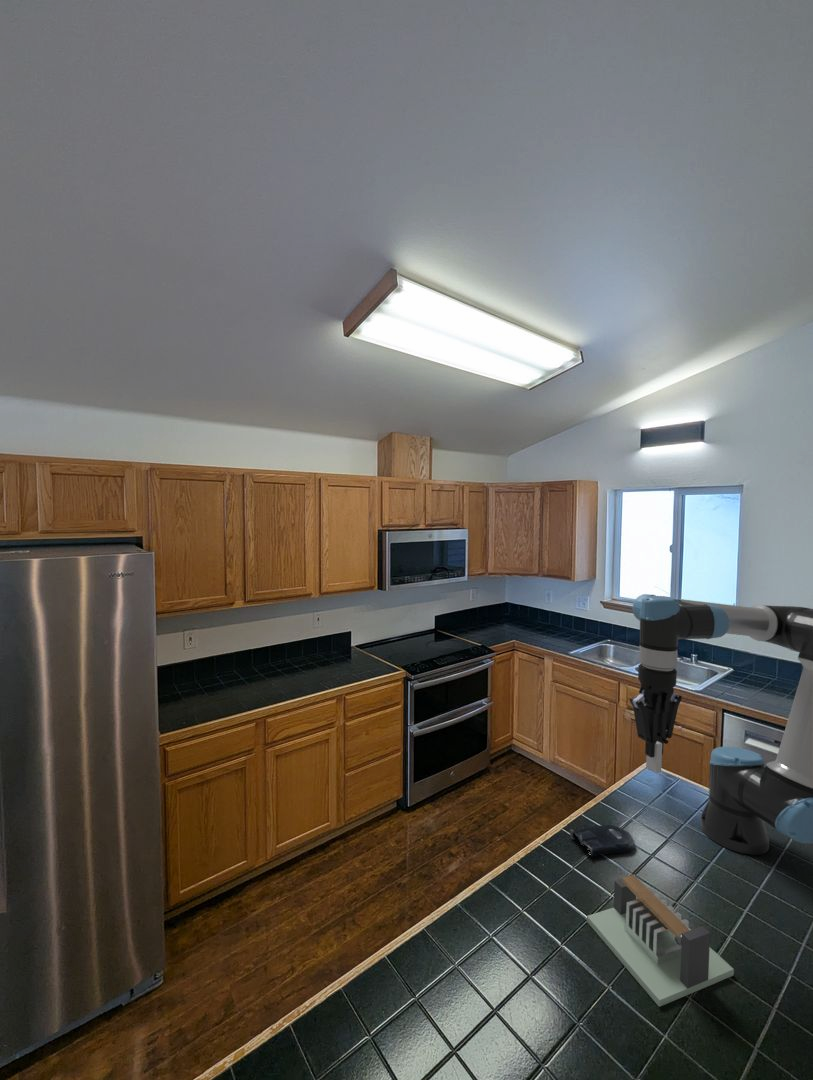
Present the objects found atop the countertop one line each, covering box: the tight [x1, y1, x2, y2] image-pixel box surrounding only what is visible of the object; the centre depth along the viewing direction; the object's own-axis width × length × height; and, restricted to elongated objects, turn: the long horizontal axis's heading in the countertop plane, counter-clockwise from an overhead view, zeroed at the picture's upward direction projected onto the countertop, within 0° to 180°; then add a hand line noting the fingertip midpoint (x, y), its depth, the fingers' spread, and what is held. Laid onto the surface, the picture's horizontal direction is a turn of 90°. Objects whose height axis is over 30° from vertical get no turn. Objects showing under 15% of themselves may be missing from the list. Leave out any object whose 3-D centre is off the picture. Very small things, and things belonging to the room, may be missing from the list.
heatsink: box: [624, 892, 690, 965], centre depth 91 cm, size 8×8×6 cm
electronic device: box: [569, 824, 635, 858], centre depth 120 cm, size 9×6×15 cm
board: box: [586, 878, 735, 1008], centre depth 91 cm, size 18×18×10 cm
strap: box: [621, 874, 690, 945], centre depth 91 cm, size 4×15×1 cm, turn 19°
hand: (653, 769), depth 104 cm, fingers closed
